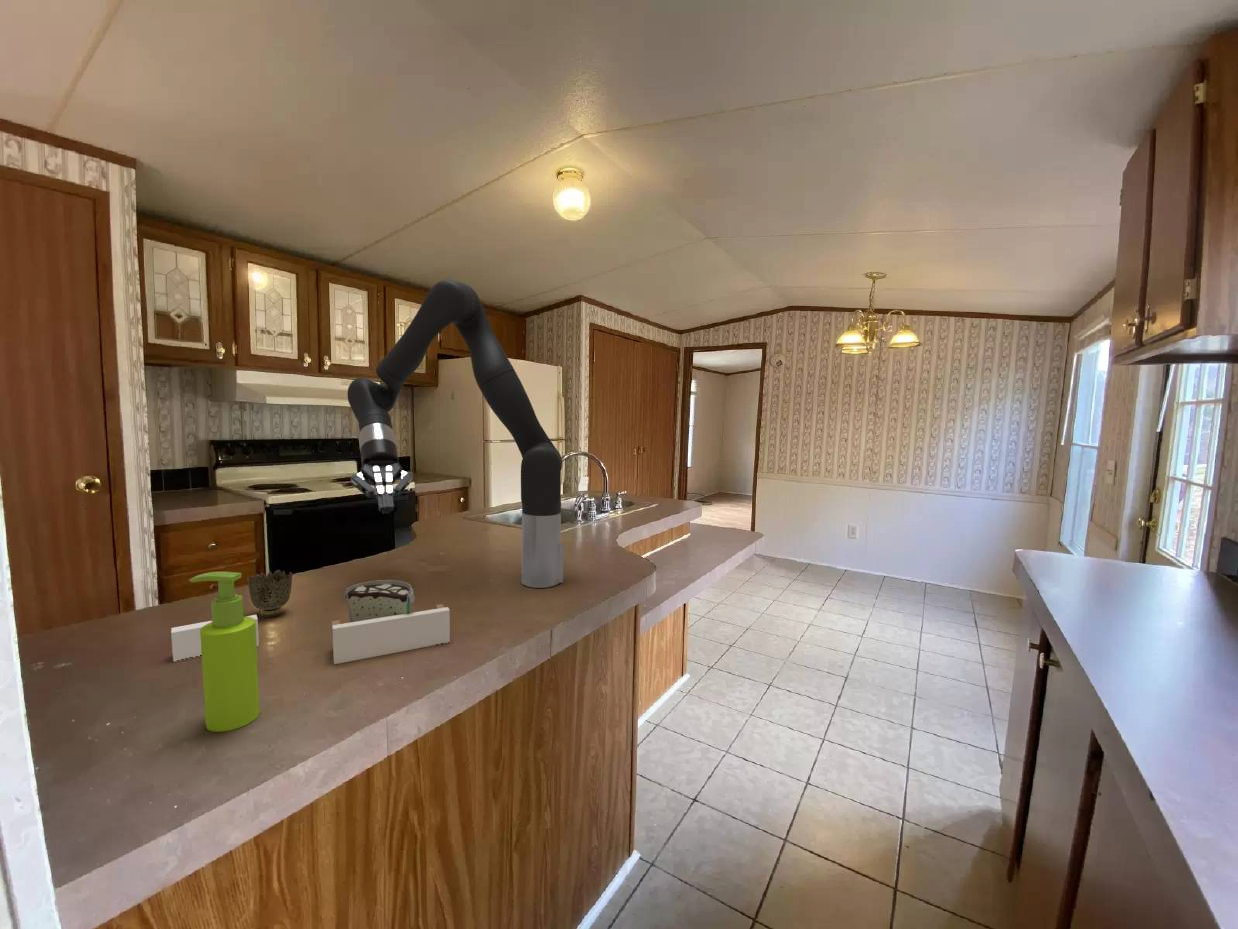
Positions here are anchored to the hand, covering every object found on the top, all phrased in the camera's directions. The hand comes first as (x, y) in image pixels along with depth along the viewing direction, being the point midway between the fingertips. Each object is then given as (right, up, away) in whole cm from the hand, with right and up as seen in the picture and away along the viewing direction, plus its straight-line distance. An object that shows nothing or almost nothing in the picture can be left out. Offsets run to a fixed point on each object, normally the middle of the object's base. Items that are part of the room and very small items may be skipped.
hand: (387, 511), depth 112 cm
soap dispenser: (-4, -24, -41) cm, 48 cm away
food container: (+6, -22, -15) cm, 27 cm away
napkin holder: (-19, -22, -22) cm, 36 cm away
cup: (-20, -20, -6) cm, 29 cm away
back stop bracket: (+8, -22, -18) cm, 29 cm away
